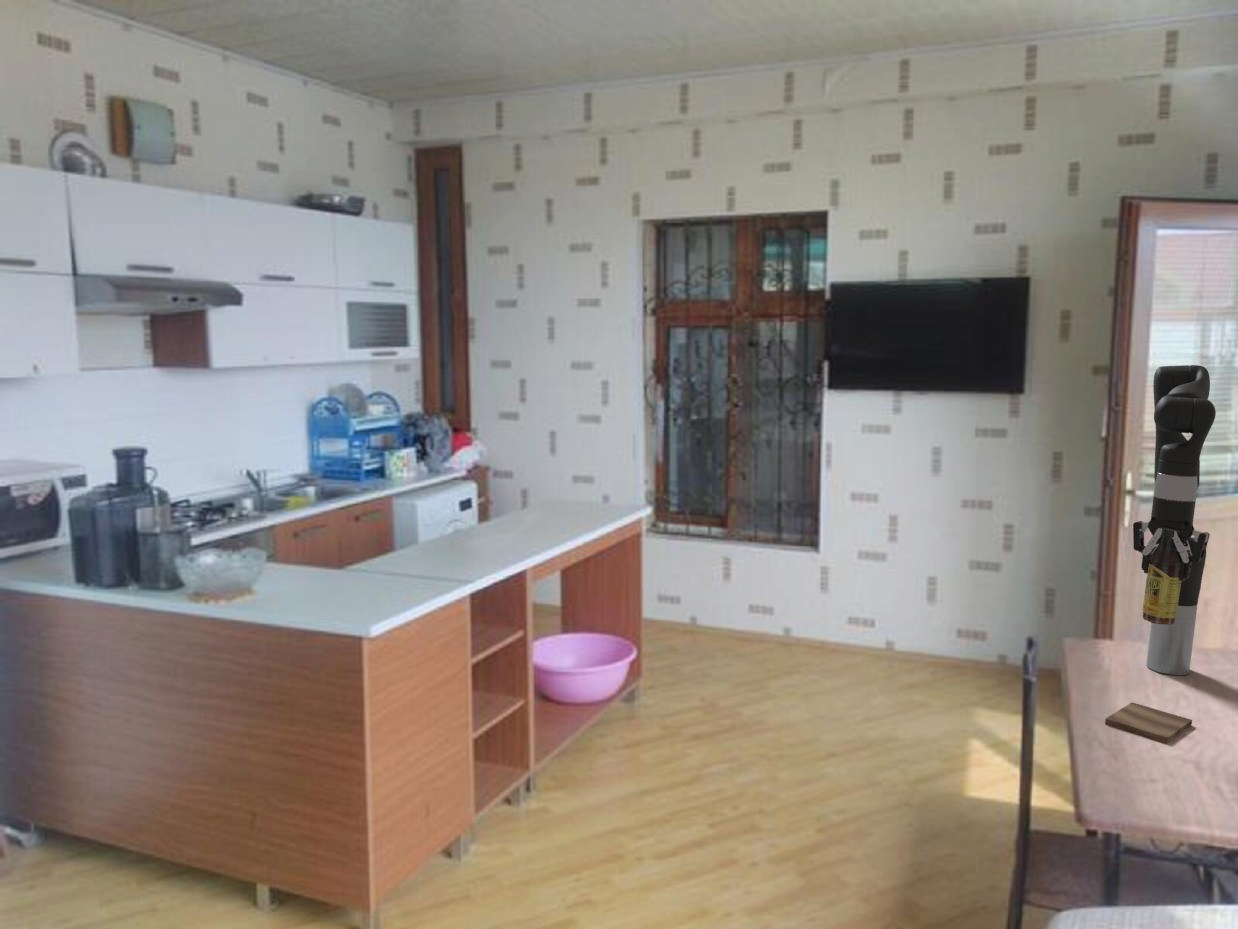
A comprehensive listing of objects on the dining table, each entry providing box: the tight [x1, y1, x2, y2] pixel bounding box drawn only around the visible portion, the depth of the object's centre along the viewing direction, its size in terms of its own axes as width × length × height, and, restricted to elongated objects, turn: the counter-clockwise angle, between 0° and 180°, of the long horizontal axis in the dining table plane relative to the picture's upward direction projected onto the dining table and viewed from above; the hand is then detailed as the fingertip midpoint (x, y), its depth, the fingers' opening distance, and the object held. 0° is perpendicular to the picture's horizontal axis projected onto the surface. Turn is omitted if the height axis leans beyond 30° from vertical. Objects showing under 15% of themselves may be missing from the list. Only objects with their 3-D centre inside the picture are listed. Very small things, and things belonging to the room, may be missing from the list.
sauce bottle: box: [1142, 527, 1183, 625], centre depth 201 cm, size 7×6×20 cm
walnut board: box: [1104, 702, 1193, 744], centre depth 205 cm, size 14×12×1 cm
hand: (1165, 576), depth 201 cm, fingers closed on sauce bottle, 6 cm apart
